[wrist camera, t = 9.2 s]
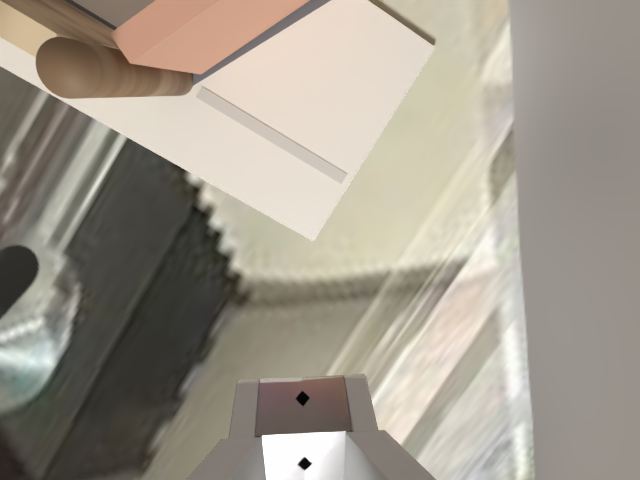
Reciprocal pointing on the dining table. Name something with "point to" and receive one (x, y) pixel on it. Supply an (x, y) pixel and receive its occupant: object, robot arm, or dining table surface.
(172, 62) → the swing panel
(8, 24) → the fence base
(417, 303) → the dining table surface
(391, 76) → the card
